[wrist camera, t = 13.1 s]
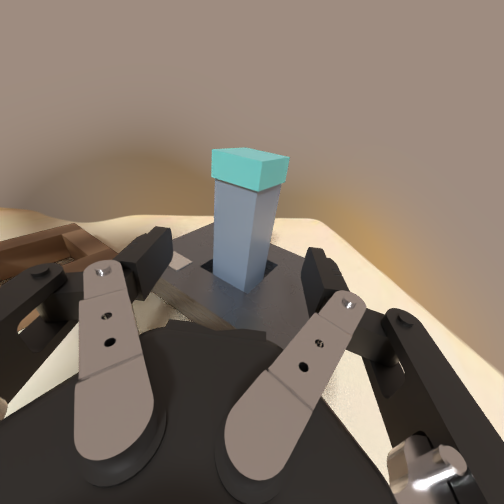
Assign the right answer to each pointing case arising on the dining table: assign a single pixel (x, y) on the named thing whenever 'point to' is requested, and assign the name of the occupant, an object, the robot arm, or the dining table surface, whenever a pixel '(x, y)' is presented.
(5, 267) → the holster
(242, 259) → the plug
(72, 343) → the dining table surface
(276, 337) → the port panel
